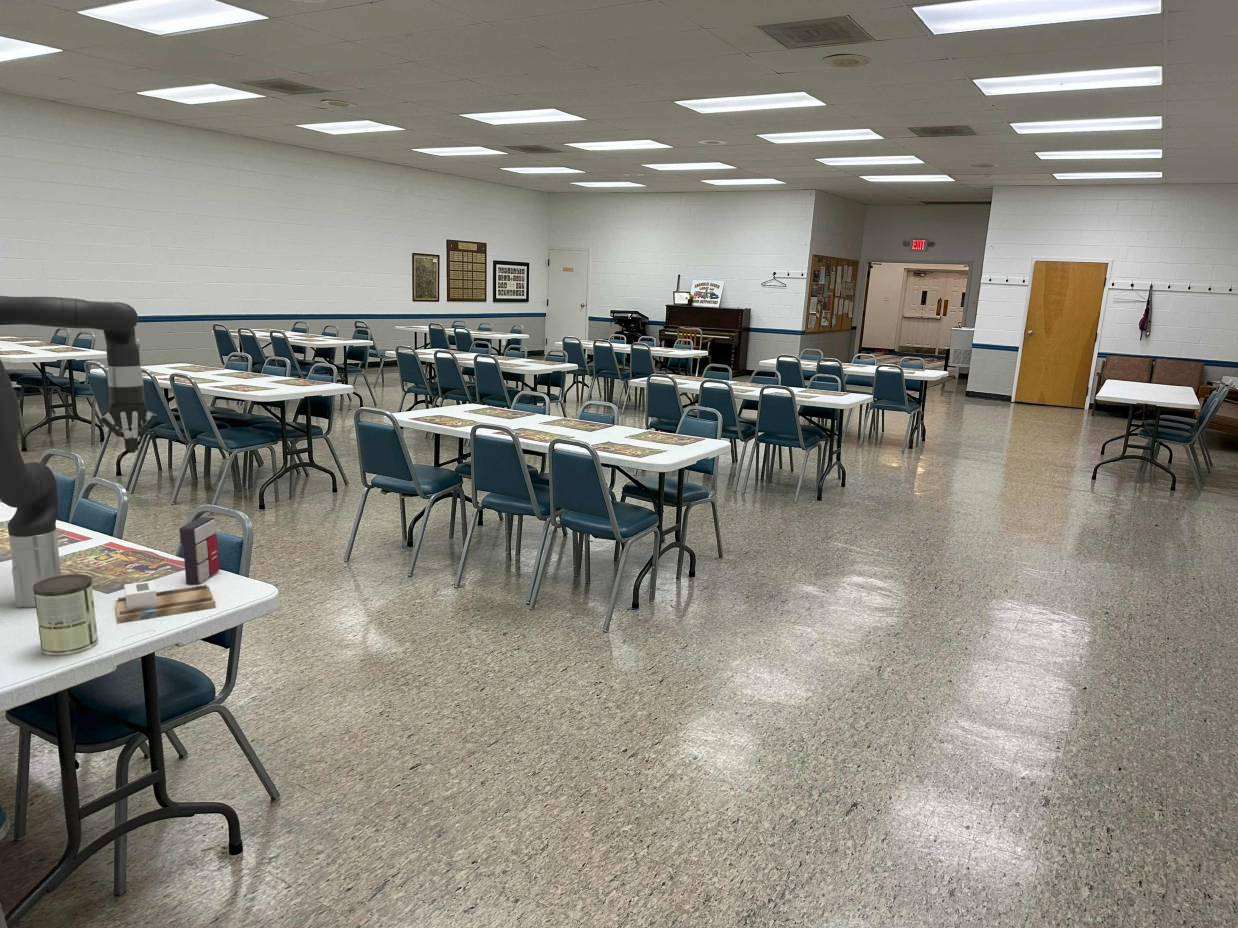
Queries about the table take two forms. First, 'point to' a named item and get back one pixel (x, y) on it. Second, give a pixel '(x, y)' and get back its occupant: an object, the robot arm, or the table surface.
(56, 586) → the coffee can
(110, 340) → the robot arm
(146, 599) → the block
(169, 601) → the board
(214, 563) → the black red grey box
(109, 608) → the table surface
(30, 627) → the table surface
